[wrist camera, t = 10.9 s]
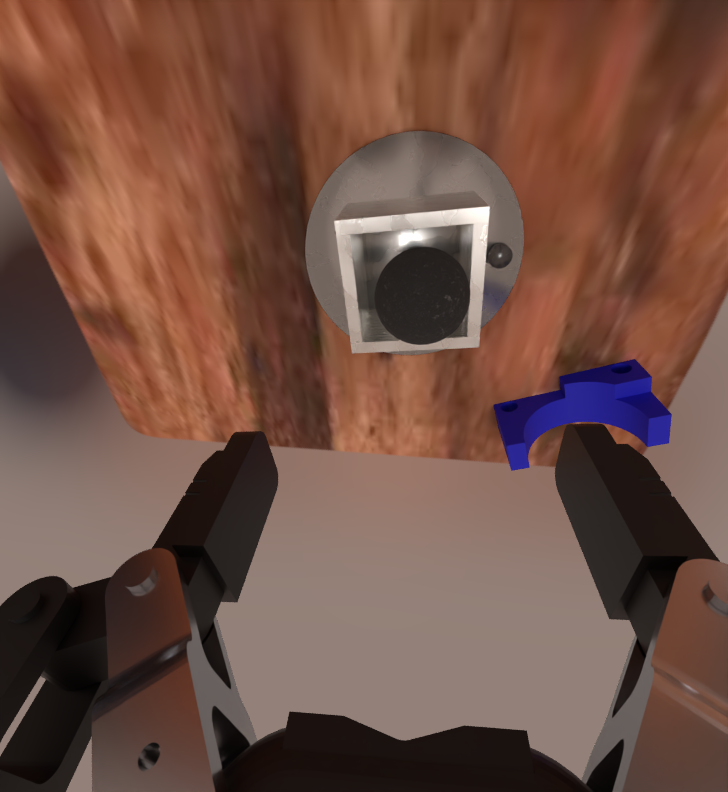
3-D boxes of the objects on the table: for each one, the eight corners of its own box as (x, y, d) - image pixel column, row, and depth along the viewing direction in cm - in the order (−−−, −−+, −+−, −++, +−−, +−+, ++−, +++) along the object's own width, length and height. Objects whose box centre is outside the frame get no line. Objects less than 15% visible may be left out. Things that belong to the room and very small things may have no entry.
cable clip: (633, 358, 33) (673, 398, 28) (632, 399, 35) (668, 443, 30) (490, 391, 36) (503, 432, 31) (498, 426, 39) (511, 470, 34)
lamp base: (288, 146, 26) (255, 152, 20) (536, 115, 24) (576, 113, 18) (325, 353, 35) (310, 398, 29) (507, 344, 33) (529, 390, 27)
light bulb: (415, 201, 26) (428, 241, 18) (468, 257, 28) (501, 316, 20) (361, 262, 29) (351, 320, 21) (413, 309, 31) (423, 379, 23)
